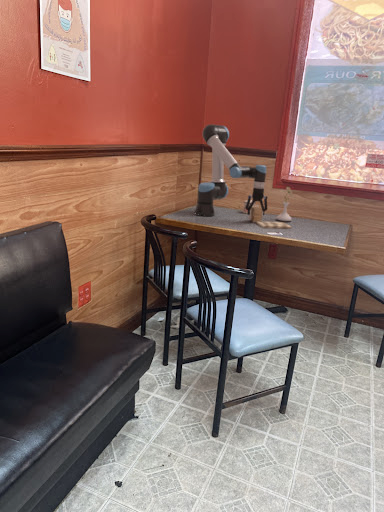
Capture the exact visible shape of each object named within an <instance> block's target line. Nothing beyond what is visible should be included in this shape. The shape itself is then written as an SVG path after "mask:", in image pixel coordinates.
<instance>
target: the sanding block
mask: <svg viewBox="0 0 384 512" xmlns="http://www.w3.org/2000/svg"><path fill="white" fill-rule="evenodd" d="M261 213H262V208H260V207H259V206H258V207H257V206H255V207H252V208H251V217H250V220H249V221H250V222H251V223H253V224H256V221H259V222H262V220H261Z"/></svg>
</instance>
